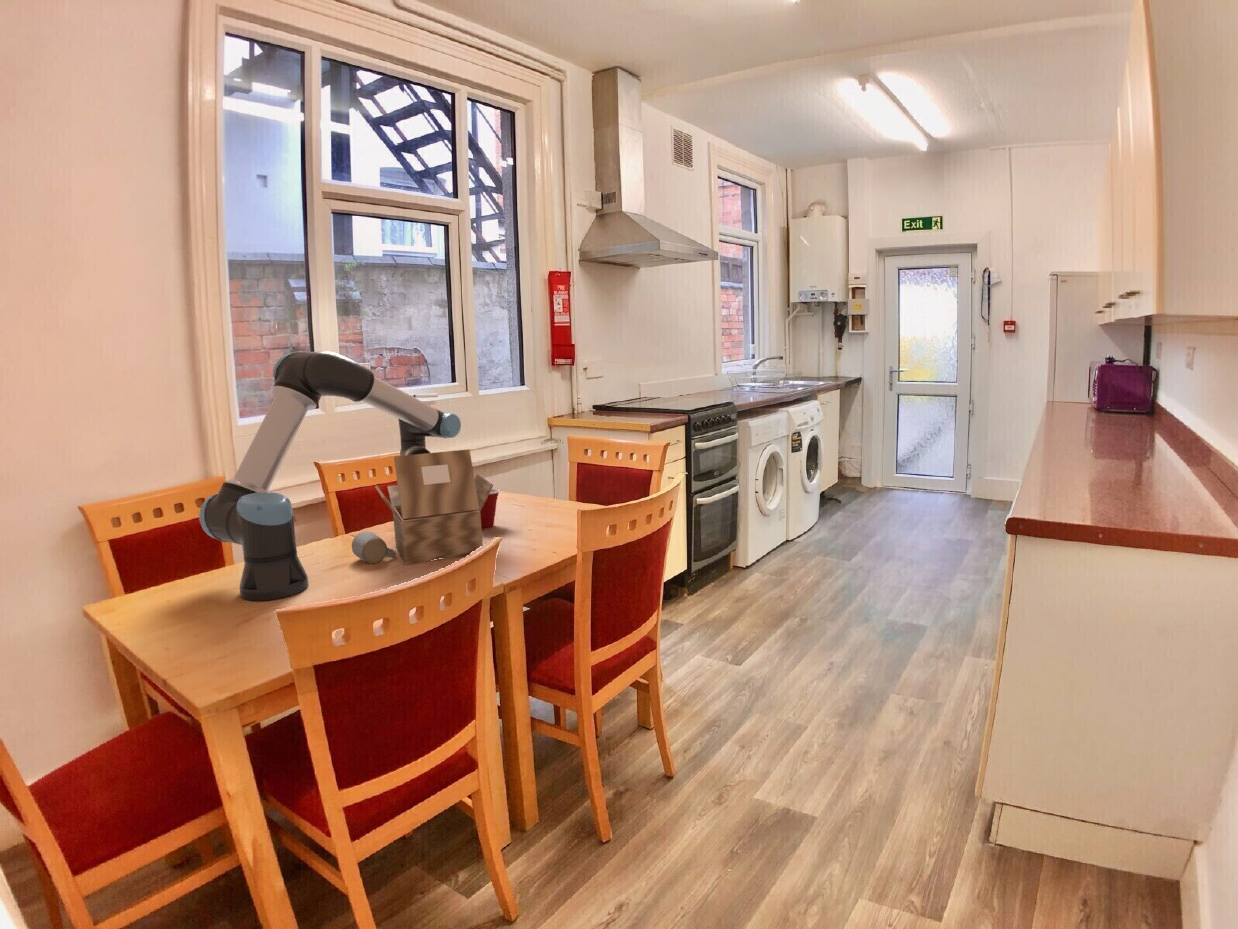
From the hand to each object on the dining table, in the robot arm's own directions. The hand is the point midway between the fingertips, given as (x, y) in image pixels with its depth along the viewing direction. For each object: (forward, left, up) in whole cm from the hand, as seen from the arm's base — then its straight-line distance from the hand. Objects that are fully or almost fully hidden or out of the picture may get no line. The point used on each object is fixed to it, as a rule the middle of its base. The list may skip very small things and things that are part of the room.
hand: (433, 471), depth 201 cm
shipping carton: (0, +6, -23) cm, 24 cm away
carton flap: (0, -4, -3) cm, 5 cm away
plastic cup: (+18, +21, -23) cm, 36 cm away
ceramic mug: (-17, +2, -23) cm, 29 cm away
